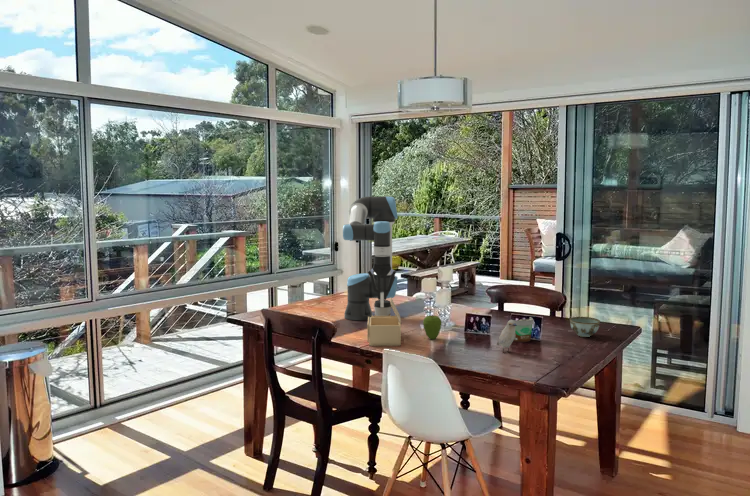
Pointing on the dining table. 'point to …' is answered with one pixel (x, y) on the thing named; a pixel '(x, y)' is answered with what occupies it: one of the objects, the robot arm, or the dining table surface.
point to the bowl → (584, 326)
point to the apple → (432, 326)
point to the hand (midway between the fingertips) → (382, 306)
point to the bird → (507, 335)
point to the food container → (523, 330)
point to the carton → (384, 331)
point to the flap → (395, 310)
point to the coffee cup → (382, 308)
